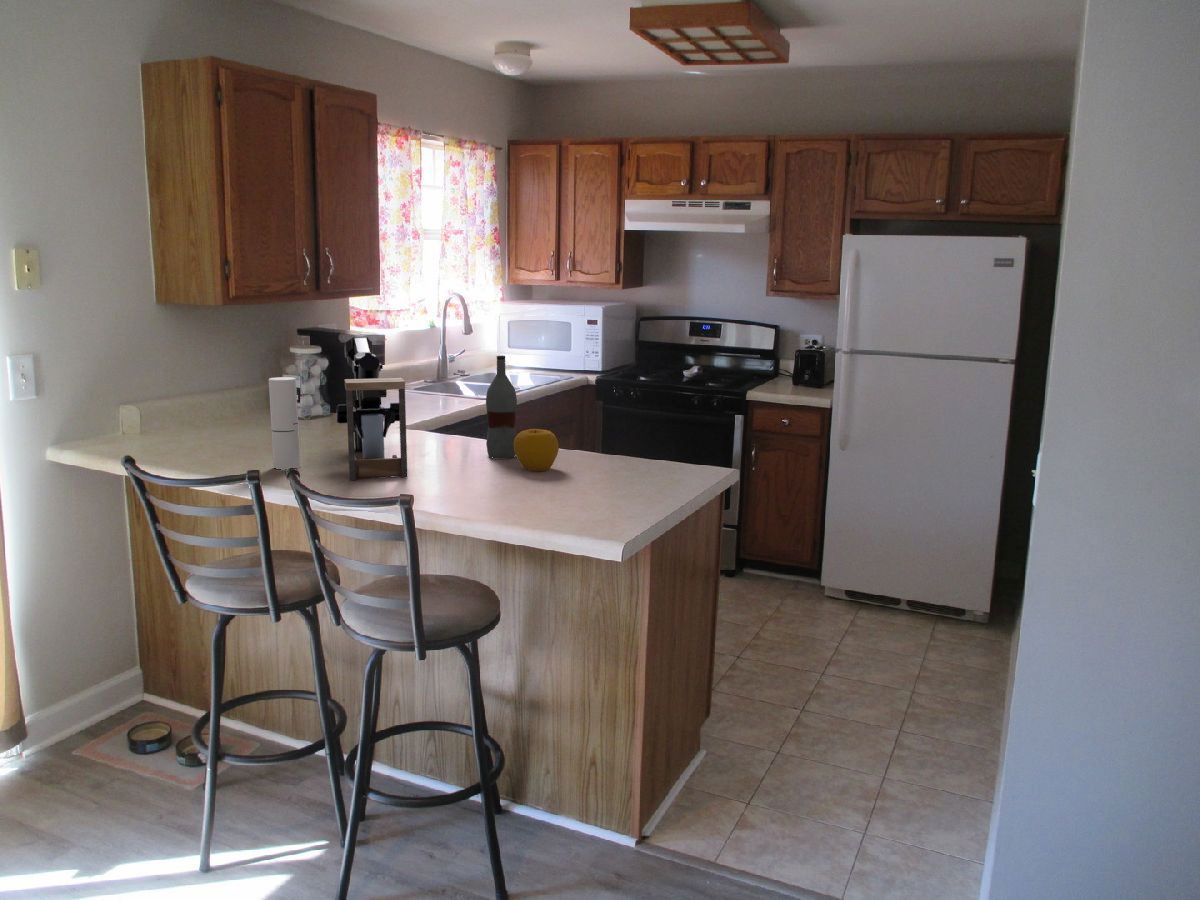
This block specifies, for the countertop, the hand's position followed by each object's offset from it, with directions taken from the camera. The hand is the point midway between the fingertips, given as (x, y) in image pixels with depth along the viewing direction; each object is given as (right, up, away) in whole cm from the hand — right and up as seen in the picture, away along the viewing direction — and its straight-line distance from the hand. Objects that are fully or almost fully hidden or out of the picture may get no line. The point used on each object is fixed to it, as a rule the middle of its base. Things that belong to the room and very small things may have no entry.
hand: (373, 437), depth 270 cm
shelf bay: (+2, -10, -6) cm, 12 cm away
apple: (+45, -9, +1) cm, 46 cm away
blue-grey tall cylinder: (-1, -6, +3) cm, 7 cm away
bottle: (+34, -6, +18) cm, 39 cm away
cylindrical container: (-24, -9, 0) cm, 26 cm away
